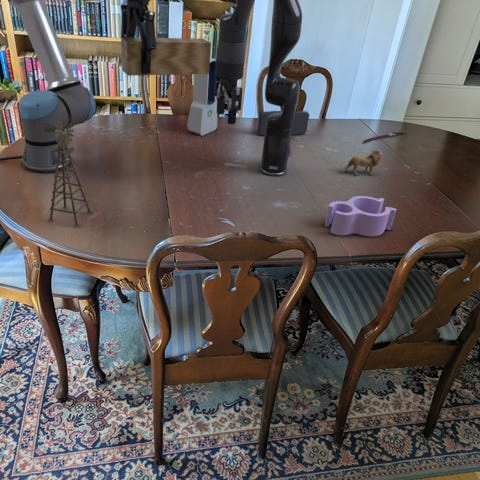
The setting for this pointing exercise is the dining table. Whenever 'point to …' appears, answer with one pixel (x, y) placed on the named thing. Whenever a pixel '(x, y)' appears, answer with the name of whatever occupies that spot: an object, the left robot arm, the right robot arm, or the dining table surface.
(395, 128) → the dining table surface
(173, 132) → the dining table surface
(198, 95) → the electronic device
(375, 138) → the sword
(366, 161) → the lion figurine
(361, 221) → the clip
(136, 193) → the dining table surface
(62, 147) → the miniature windmill
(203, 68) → the bar
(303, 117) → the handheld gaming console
